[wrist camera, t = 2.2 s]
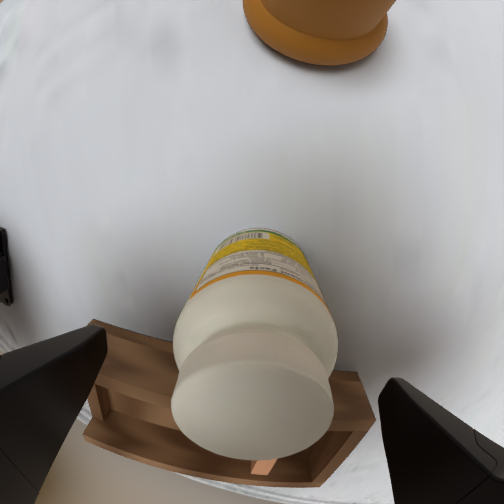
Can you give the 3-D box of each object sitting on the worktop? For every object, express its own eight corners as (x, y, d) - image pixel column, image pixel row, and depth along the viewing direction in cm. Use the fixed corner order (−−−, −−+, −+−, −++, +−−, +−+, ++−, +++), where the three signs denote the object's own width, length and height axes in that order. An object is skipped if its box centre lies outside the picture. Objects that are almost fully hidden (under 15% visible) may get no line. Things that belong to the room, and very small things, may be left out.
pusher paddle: (251, 442, 18) (250, 473, 15) (272, 389, 16) (273, 425, 13) (267, 444, 18) (267, 475, 15) (291, 392, 16) (295, 427, 13)
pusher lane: (105, 404, 19) (85, 440, 14) (93, 319, 16) (57, 356, 12) (313, 445, 19) (319, 487, 15) (357, 372, 17) (376, 420, 12)
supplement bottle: (240, 206, 14) (201, 280, 5) (328, 261, 15) (407, 386, 5) (191, 290, 15) (121, 425, 6) (272, 335, 16) (279, 483, 7)
